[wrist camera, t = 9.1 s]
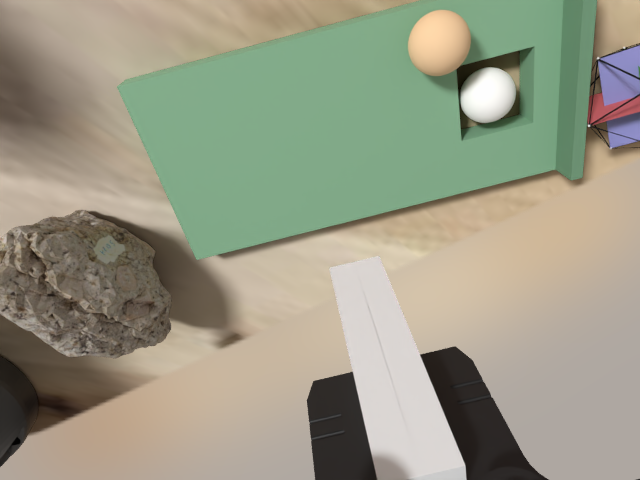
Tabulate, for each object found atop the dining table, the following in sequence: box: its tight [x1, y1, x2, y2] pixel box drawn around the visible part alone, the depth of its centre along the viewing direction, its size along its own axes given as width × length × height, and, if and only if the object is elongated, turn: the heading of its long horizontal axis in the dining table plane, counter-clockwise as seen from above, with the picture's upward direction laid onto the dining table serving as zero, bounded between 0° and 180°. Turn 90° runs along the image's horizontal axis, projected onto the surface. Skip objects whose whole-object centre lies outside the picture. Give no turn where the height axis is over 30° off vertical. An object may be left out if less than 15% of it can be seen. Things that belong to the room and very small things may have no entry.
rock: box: [0, 210, 172, 359], centre depth 32 cm, size 14×10×8 cm
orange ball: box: [408, 10, 471, 76], centre depth 26 cm, size 4×4×4 cm
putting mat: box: [117, 0, 597, 260], centre depth 30 cm, size 28×13×4 cm, turn 103°
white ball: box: [460, 67, 516, 123], centre depth 30 cm, size 4×4×4 cm
